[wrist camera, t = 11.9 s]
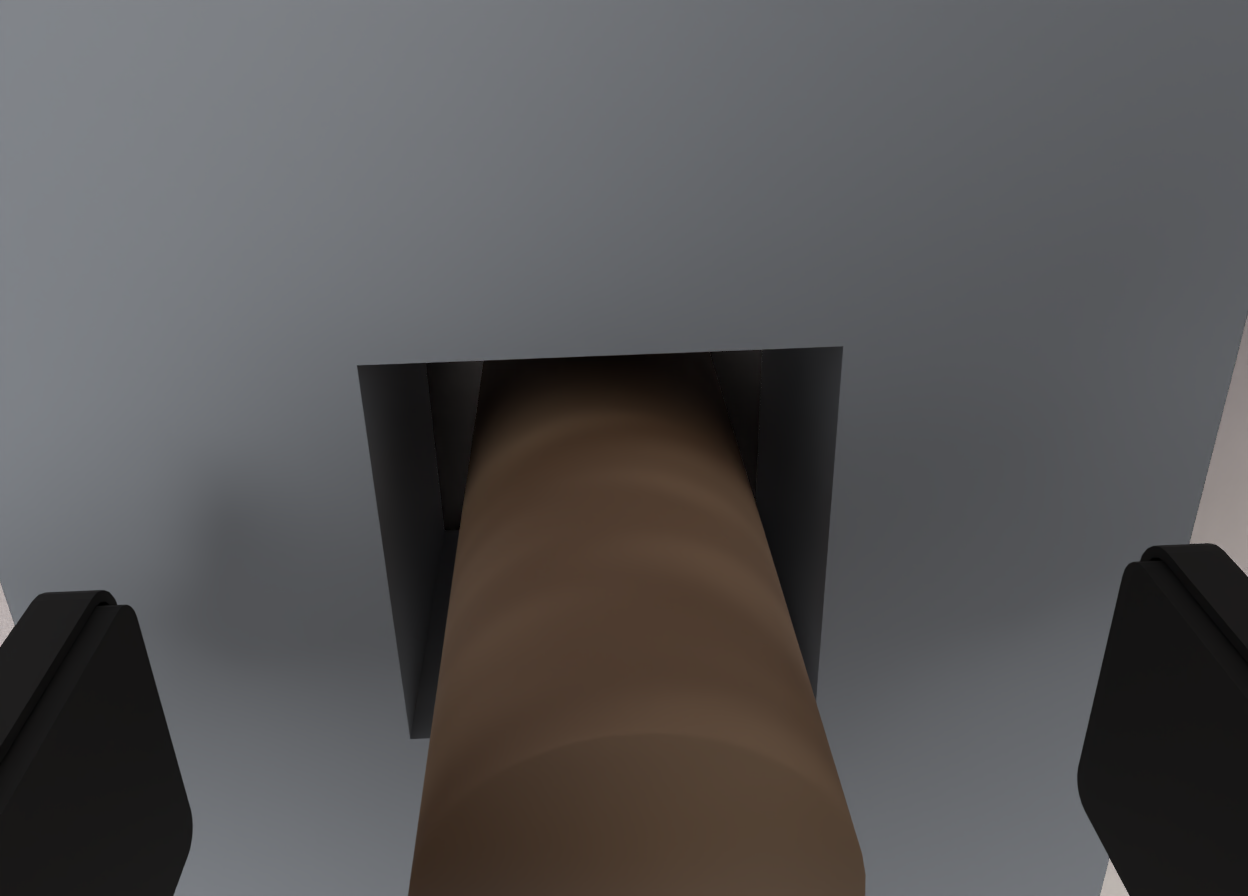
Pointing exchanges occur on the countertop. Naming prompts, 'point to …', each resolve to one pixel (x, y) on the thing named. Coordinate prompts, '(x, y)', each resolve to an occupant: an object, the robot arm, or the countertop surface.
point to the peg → (621, 656)
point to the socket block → (618, 325)
